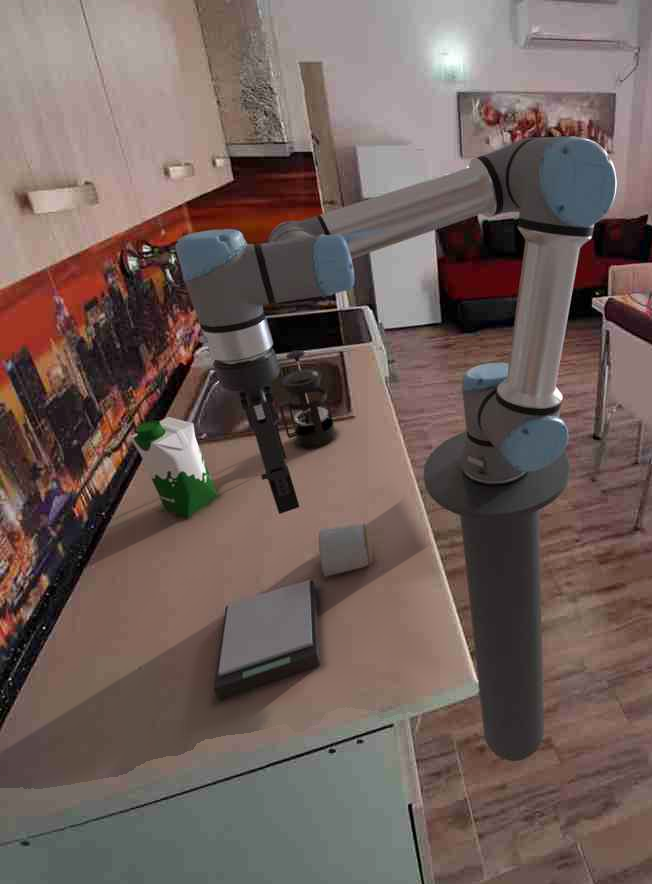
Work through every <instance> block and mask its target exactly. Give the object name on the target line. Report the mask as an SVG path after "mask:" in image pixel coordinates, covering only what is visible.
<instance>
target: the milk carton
mask: <svg viewBox="0 0 652 884" xmlns="http://www.w3.org/2000/svg"><path fill="white" fill-rule="evenodd" d="M134 430H135V432H136V433H134V434H132V435H130V436H129V438H130V440H131V442H132V443H133V445H134V446H135V449H136V450H137V451H138V453H139V455H140V457H141V458H142V461H143V462H144V465H145V467H146V469H147V471H148V474H149V476H150V478H151V480H152V483H153V486H154V488H155V489H156V492H157V494H158V497H159V499H160V501H161V504H162V506H163V508H164V510H165V511H168V512H171V513H174V514H177V515H180V516H182V517H184V518H190V517H191V516H192V515H194V514H195V513H197V512H198V511H200V510H201V509H202V508H204V507H205V506H206V505H208V504H209V503H210V502H212V501H213V500H215V499H216V498H217V497H218V496H219V495H218V493H217V490H216V488H215V486H214V483H213V480H212V477H211V476H210V473H209V470H208V467H207V465H206V462H205V459H204V457H203V454H202V452H201V449H200V446H199V444H198V441H197V438H196V433H195V426H194V423H193V422H190V421H185V420H182V419H177V418H174V417H169V416H167V417H166V418H163V419H161V420H149V421H145V422H143V423H141V424H138V425H137V427H135V429H134Z"/></svg>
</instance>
